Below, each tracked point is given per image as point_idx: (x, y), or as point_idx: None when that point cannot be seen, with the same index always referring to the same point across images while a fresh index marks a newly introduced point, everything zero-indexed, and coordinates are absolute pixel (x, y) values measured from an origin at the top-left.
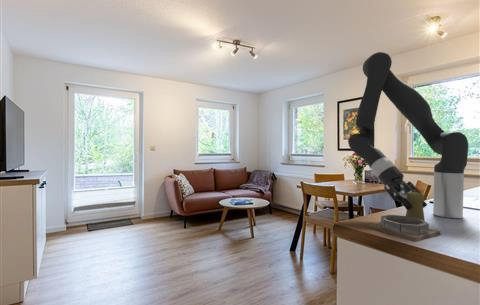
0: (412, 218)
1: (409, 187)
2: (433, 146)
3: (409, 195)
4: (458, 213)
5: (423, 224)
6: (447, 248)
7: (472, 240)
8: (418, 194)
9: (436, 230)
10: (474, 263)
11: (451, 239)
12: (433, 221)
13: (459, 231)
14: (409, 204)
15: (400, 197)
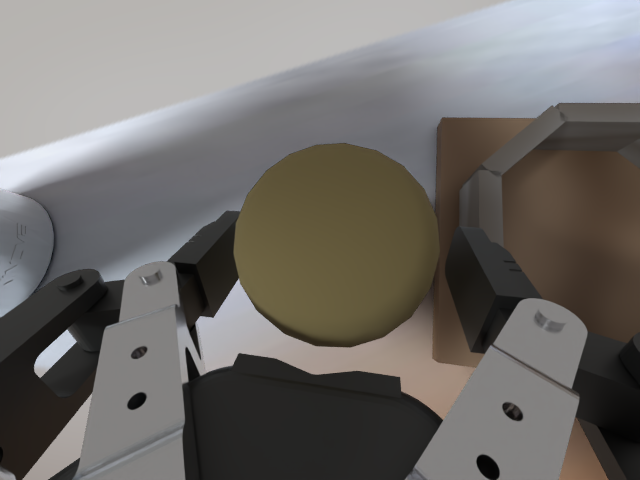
0: (500, 219)
1: (169, 393)
2: None
3: (432, 275)
4: (3, 191)
5: (611, 109)
6: (633, 35)
7: (403, 41)
8: (390, 165)
9: (450, 129)
10: None
11: (474, 77)
12: None
13: (298, 112)
14: (489, 247)
15: (601, 336)
